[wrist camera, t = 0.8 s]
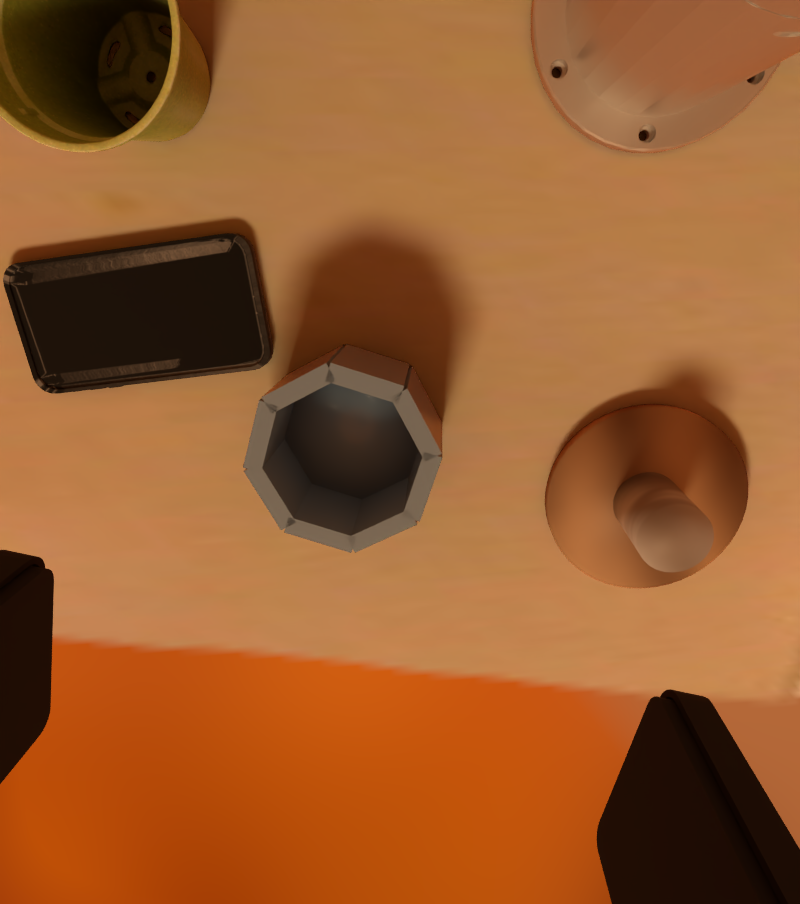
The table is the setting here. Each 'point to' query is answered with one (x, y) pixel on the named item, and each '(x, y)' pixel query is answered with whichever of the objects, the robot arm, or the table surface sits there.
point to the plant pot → (99, 72)
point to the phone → (141, 313)
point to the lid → (646, 496)
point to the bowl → (345, 449)
